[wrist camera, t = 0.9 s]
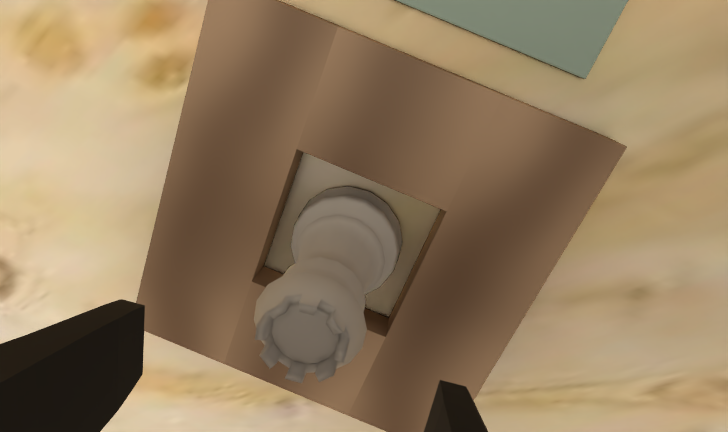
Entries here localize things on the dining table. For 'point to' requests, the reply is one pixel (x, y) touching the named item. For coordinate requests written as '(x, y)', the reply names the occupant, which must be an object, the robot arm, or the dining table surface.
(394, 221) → the rook chess piece
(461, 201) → the socket board
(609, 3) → the rubber mat
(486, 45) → the dining table surface
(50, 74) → the dining table surface
